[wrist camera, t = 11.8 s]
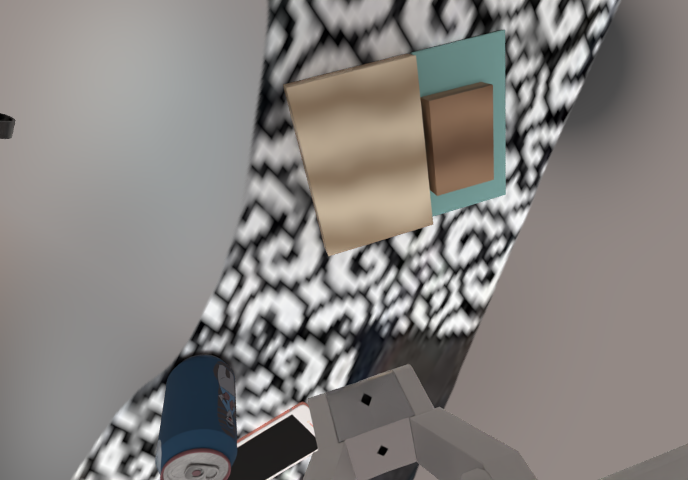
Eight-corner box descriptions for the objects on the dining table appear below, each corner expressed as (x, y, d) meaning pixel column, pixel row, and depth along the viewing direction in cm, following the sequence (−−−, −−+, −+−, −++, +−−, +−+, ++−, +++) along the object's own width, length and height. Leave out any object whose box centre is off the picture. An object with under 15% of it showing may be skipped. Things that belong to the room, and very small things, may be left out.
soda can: (159, 391, 46) (140, 498, 36) (180, 342, 44) (168, 442, 34) (221, 401, 49) (220, 503, 39) (244, 356, 47) (250, 452, 37)
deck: (282, 84, 35) (286, 88, 34) (406, 53, 37) (415, 55, 35) (324, 246, 43) (328, 256, 41) (424, 216, 45) (433, 224, 43)
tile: (419, 97, 38) (429, 101, 36) (481, 81, 39) (493, 84, 37) (428, 188, 43) (437, 196, 41) (483, 173, 43) (493, 179, 42)
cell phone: (180, 471, 53) (180, 478, 52) (303, 398, 53) (304, 404, 52) (223, 500, 58) (223, 507, 57) (336, 433, 57) (338, 439, 56)
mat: (410, 52, 37) (412, 53, 36) (501, 29, 38) (505, 30, 37) (427, 215, 45) (429, 217, 44) (502, 192, 46) (505, 194, 45)
